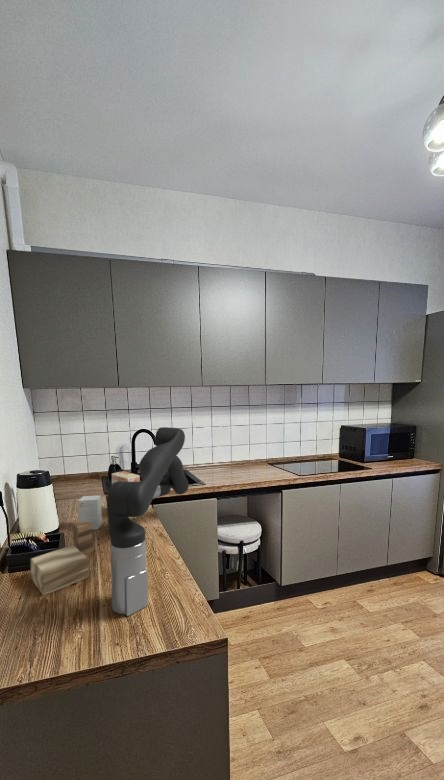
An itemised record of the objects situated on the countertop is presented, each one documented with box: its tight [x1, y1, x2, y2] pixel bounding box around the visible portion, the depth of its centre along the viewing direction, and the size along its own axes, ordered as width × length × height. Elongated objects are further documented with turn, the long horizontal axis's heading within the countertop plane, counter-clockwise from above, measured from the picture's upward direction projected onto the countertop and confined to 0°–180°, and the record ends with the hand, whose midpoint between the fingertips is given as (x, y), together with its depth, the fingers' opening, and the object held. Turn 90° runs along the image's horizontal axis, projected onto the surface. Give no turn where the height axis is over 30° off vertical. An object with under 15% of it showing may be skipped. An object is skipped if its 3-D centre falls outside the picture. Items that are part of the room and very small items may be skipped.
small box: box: [77, 495, 103, 531], centre depth 142 cm, size 8×6×13 cm
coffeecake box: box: [111, 470, 141, 520], centre depth 156 cm, size 15×7×20 cm, turn 46°
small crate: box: [72, 521, 94, 555], centre depth 120 cm, size 5×5×10 cm
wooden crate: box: [30, 544, 91, 596], centre depth 103 cm, size 14×14×6 cm
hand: (111, 501), depth 128 cm, fingers open, 8 cm apart
